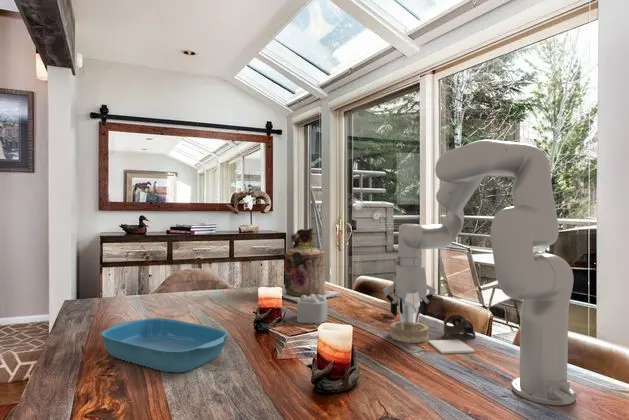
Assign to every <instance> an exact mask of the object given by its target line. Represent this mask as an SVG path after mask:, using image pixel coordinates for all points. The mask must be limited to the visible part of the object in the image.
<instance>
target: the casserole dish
mask: <svg viewBox="0 0 629 420" xmlns="http://www.w3.org/2000/svg"><path fill="white" fill-rule="evenodd" d="M228 334H229V333H228V331H226V330H224V329H220V328H217V327H213V326H207V325H202V324H197V323H193V322H187V321H184V320H183V321H182V320H177V319H171V318H165V317H163V318H162V317H151V318H144V319H143V318H142V319H135V320H128V321H123V322H119V323H117V324H114V325H111V326H110V327H109V328H107V329H104V330H103V331H102V332H101V334H100V335H101V337H102V340H103V343H104V347H105V349H106V351H107V352H108V354H109V355H110V356H112V357H114V358H116V359H118V360H120V359H121V361H123V360H125V362H127V361H128V362H127V363H130V362H132V363H131V364H134V363H135V364H134V365H137V364H139V365H138V366H141V365H142V367H144V366H146V368H148V367H150V368H149V369H151V368H153V369H152V370H155V369H157V370H156V371H159V370H161V371H160V372H164V371H166V372H165V373H168V372H176V373H175V374H178V373H177V372H183V373H186V372H185V371H187V372H189V370H190V371H192V370H195V369H197V368H199V367H201V366H202V365H206V364H207V363H209V362H212V361H213V360H214V359H216V358H217V357H218V356H220V354H221V353H222V351H223V348H224V346H225V344H226V341H227V339H228ZM200 365H201V366H200ZM198 366H199V367H198ZM196 367H197V368H196ZM194 368H195V369H194Z"/></svg>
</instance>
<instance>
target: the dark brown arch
mask: <svg viewBox="0 0 629 420" xmlns="http://www.w3.org/2000/svg"><path fill="white" fill-rule="evenodd" d="M450 321H451V324H452V325H451V326H450V325H448V323H449V322H450ZM461 333H462V334H469V335H470V334H471V335H473V338H474V339H476V331H475V329H474V325H473V322H472V321H471V320H470V319H469V318H467V317H466V316H465V315H463V314H462V313H453V314H450V315H449V316H446V318H445V319H444V320H443V334H444V336H445V337H446V336H447V335H452V336H453V335H454V334H455V335H456V334H461Z"/></svg>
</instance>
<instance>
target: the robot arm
mask: <svg viewBox="0 0 629 420" xmlns="http://www.w3.org/2000/svg"><path fill="white" fill-rule="evenodd" d="M548 158H549V157H548V156H547V155H546V153H545V152H544V151H543V150H541V149H540V148H539V147H537V146H534V145H531V144H527V143H521V142H515V141H514V142H512V141H503V140H494V139H482V140H481V139H479V140H476V141H473V142H470V143H467V144H465V145H461V146H458V147H455V148H451V149H449V150H446V151H445V152H444V153H442V155H440V156H439V158H438V159H437V161H436V164H435V168H434V169H435V170H434V171H435V175H436V177H437V179H439V181H441V182H442V184H441V185H440V188H439V189H438V190H437V192H436V194H435V197H436V201H437V203H438V205H440V206H441V207H442V208H443V209H444V210H446V211H447V212H446V215H445V216H444V218H443V219H442V221H441V222H440V224H437V223H436V224H434V223H433V224H431V223H430V224H417V223H402V224H400V225H399V227H398V240H397V241H398V246H397V253H398V254H397V257H396V258H393V263H395V264H397V265H396V266H395V269H394V274H393V283H392V284H389V286H386V287H384V288H383V289H382V292H383V294H384V295H385V297H386V299H387V300H388V301H389V302H390V313H391V315H393V317H397V316H398V304H397V302H398V301H399V298H401V299H404V298H406V295H407V292H409V293H415V292H419V293H418V294H419V298H421V308H420V314H421V315H422V316H427V313H428V304H429V303H430V301H431V300H432V299H433V298H434V295H435V293H436V291H437V290H436V289H435V288H434V287H431V286H430V285H429V284H427V283H428V282H427V274H426V270H425V269H426V268H425V266H423V250H433V249H445V248H448V247H449V246H451V245H452V244H453V242H454V241H455V240H456V239H457V237H458V236H459V234H460V233H461V232H462V230H463V228H464V221H465V213H464V208H465V207H466V205H467V204H468V202H469V201H470V199H471V197H472V196H473V195H474V193H475V192H476V190H477V189H478V188H479V186H480V185H481V183H482V181H483V180H484V178H485V177H486V176H489V177H490V176H491V177H513V178H514V180H513V183H512V187H511V198H512V205H513V206H508V207H505V208H504V207H503V208H502V209H500V210H499V211H498V212H496V214H495V216H494V217H493V219H492V221H491V224H490V231H489V232H490V233H489V234H490V242H491V249H492V257H493V265H494V271H495V272H494V273H495V277H496V281H497V284H498V286H499V289H500V290H501V292H502V293H503V294H504V295H506V297H508V298H510V299H513V300H515V301H522V304H521V307H520V320H519V321H520V323H519V326H520V327H519V377H517V378H515V379H514V380H513V381H512V382H511V388H512V390H513V392H514V393H516V394H517V395H518V396H519V397H522V398H524V399H526V400H529V401H531V402H535V403H539V404H542V405H548V406H549V405H550V406H567V405H570V404H573V403H574V402H575V401H576V398H577V394H576V393H575V392H574V390H572V389H571V386H570V383H571V382H570V381H569V380H568V349H569V348H568V347H569V346H568V344H569V343H568V341H569V335H568V334H569V311H570V302H571V297H572V292H573V286H574V273H573V272H574V271H573V270H572V268H571V266H570V264H569V263H568V261H566V260H565V259H564V258H562V257H561V256H558V255H555V254H551V253H537V254H534V249H539V248H540V249H541V248H542V249H543V248H547V247H549V246H552V245H553V244H555V242H556V241H558V238H559V235H560V233H559V231H560V228H559V221H558V215H557V214H558V213H557V209H556V203H555V196H554V192H553V191H554V190H553V186H552V177H551V176H552V175H551V166H550V161H549V159H548ZM391 291H392V294H393V295H390V292H391Z"/></svg>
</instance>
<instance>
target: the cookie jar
mask: <svg viewBox="0 0 629 420" xmlns="http://www.w3.org/2000/svg"><path fill="white" fill-rule="evenodd" d="M313 233H314V228H313V227H310V228H308V229H304V228H301V229H298V230H297V231H296V232H295V233H292V234H291V235H290V238H291V242H293V243H294V244H293V245H292V248H289V249H288V250H287V251H286V252H285V254H284V262H283V270H284V274H285V276H284V277H285V280H284V281H285V282H284V289H285V290H281V291H282V292H283V297H282V298H284V299H287V300H290V301H293V302H296V303H297V301H298V300H299V299H300V298H301V296H302V295H306V296H307V297H308V296H309V295H310V294H314V295H316V296H317V295H318V294H320V295H322V297H325V298H326V299H327V298H333V297H339V295H340V293H341V291H335V290H334V291H332V290H326V289H325V285H326V284H325V283H326V274H325V273H326V272H325V265H324V257H325V251H324V250H320V249H318V248H316V247H315V246H314V245H313V244H312V242H313V239H314V236H313Z"/></svg>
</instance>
